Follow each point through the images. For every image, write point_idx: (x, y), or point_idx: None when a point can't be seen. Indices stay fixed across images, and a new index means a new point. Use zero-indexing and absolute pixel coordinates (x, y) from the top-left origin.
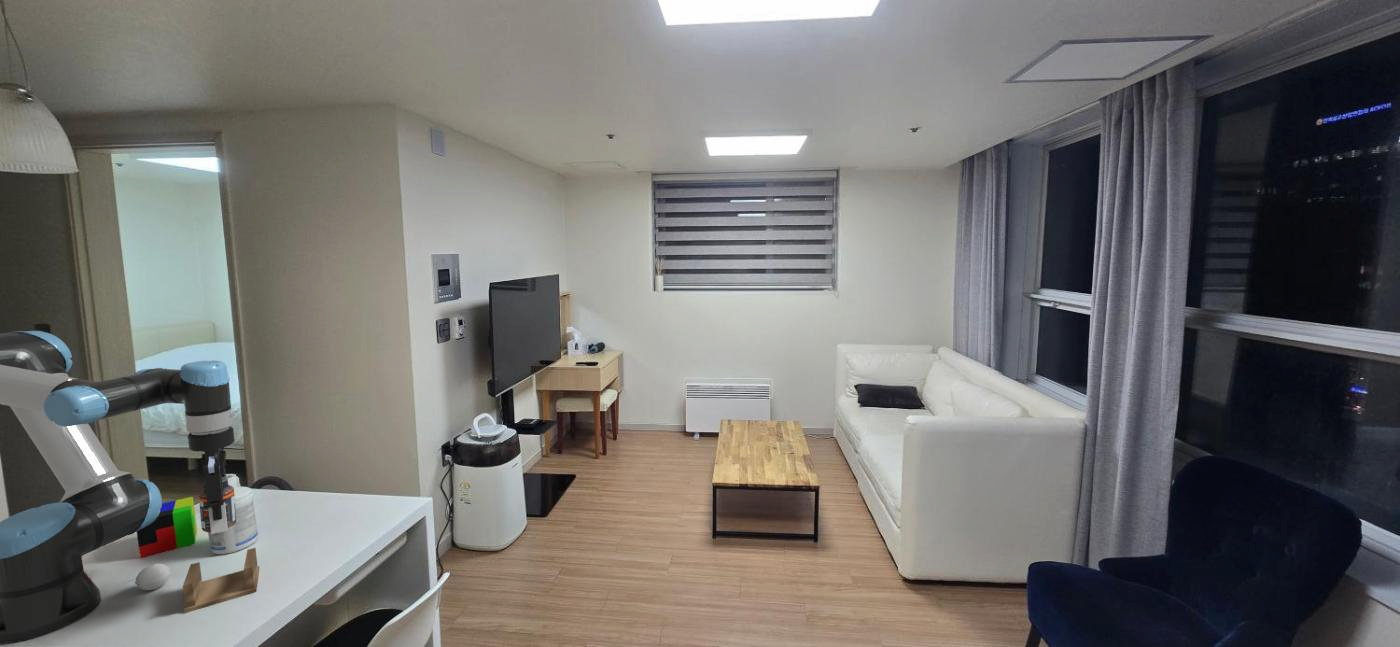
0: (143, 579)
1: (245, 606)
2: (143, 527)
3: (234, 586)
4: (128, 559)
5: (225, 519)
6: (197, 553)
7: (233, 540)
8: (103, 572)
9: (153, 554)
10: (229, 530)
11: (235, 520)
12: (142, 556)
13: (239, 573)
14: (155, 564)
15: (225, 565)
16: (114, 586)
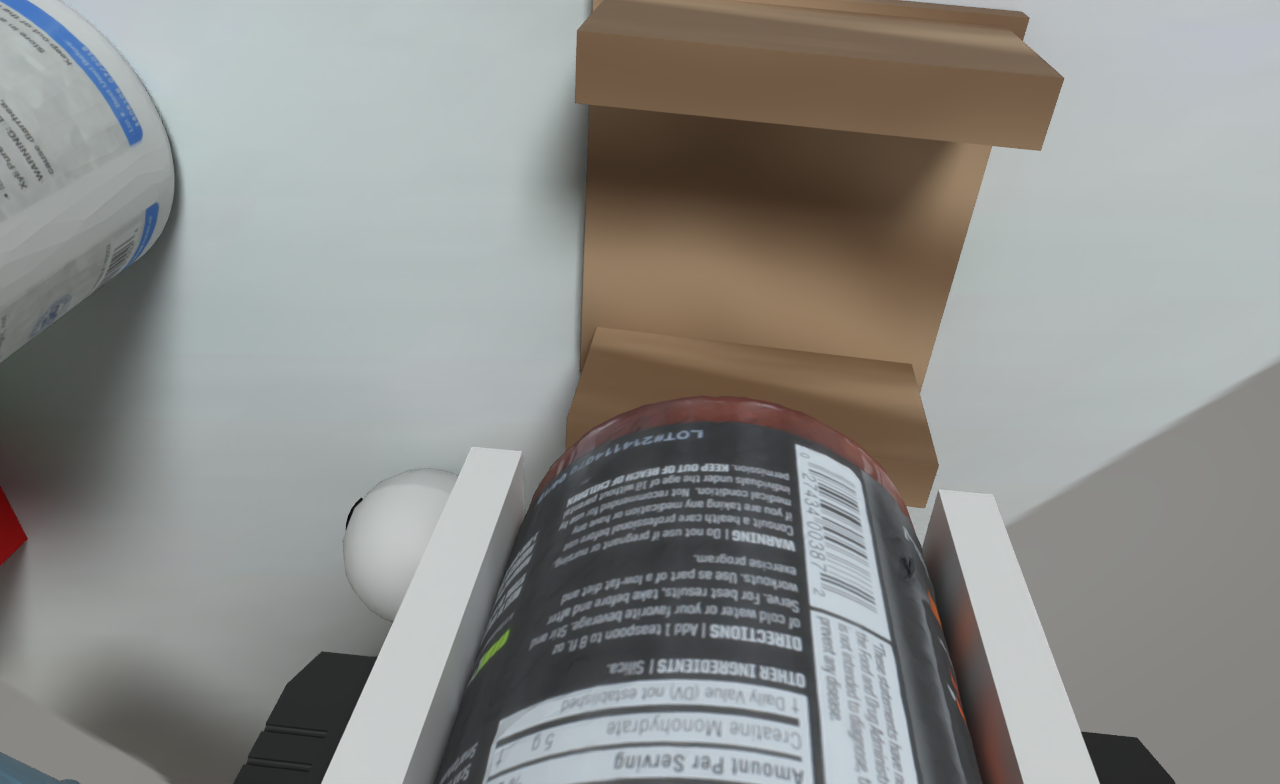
0: None
1: (1199, 93)
2: (23, 767)
3: (838, 159)
4: (16, 573)
5: (1050, 653)
6: (76, 329)
7: (111, 170)
8: (126, 638)
9: (3, 501)
10: (43, 230)
11: (781, 426)
12: (17, 539)
13: (629, 121)
14: (384, 588)
15: (366, 193)
16: (312, 611)
